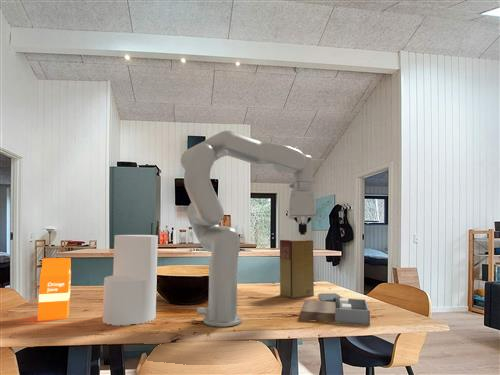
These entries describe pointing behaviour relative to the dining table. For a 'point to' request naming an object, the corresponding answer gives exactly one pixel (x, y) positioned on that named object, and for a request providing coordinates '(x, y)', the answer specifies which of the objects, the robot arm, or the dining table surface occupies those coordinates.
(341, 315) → the tray
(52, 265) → the orange juice
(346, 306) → the white rectangular block
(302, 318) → the board
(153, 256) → the white stepped block
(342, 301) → the tile
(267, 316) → the dining table surface
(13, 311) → the dining table surface
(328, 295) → the cleaver
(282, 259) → the food packaging
